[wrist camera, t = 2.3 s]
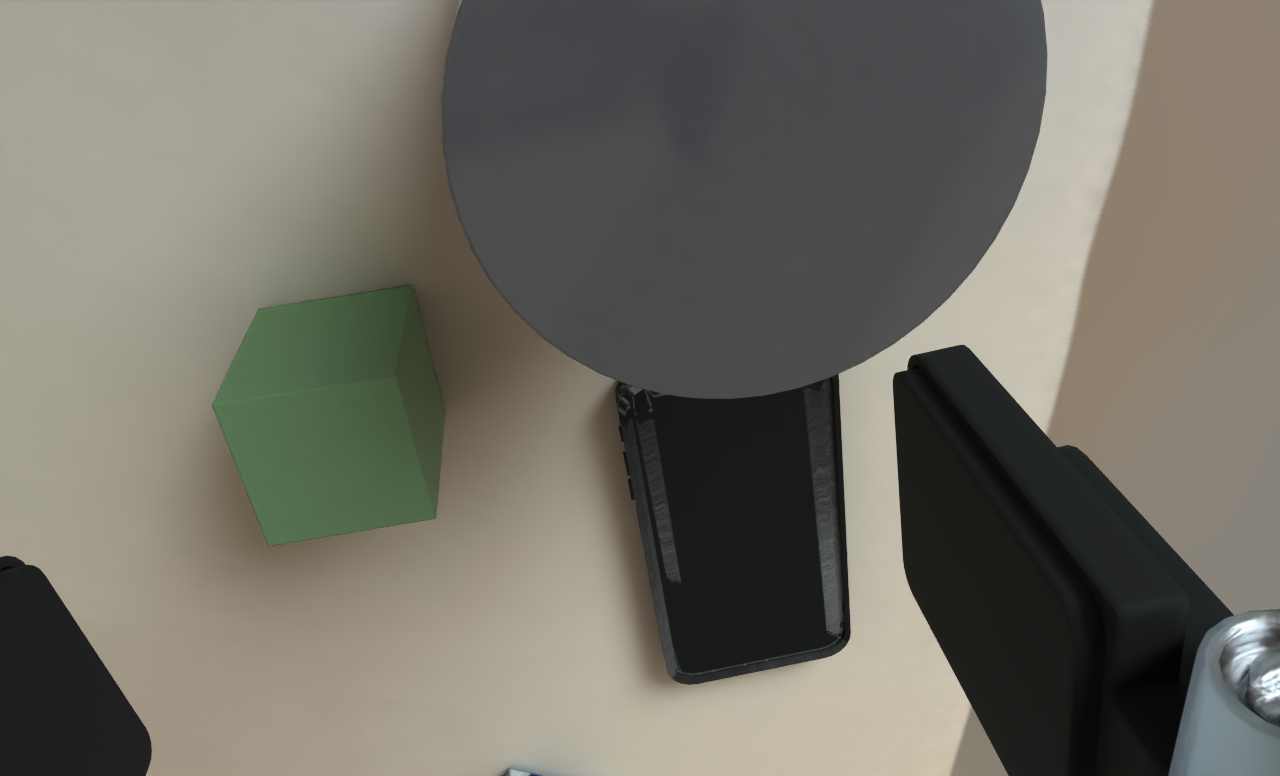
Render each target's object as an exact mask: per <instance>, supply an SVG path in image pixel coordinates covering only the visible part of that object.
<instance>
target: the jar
mask: <svg viewBox="0 0 1280 776" xmlns="http://www.w3.org/2000/svg"><path fill="white" fill-rule="evenodd" d="M1046 75H1047V44H1046V33H1045V21H1044V12H1043V8H1042V3H1041V0H459V4H458V8H457V11H456V15H455V19H454V23H453V27H452V31H451V35H450V39H449V44H448V48H447V53H446V59H445V67H444V76H443V85H442V93H441V142H442V149H443V155H444V162H445V169H446V175H447V182H448V185H449V189H450V192H451V196H452V199H453V202H454V206H455V209H456V213H457V216H458V219H459V222H460V224H461V226H462V228H463V231H464V233H465V235H466V237H467V240H468V242H469V244H470V246H471V249H472V251H473V253H474V255H475V257H476V258H477V260H478V262H479V263H480V265H481V266H482V268H483V270H484V271H485V273H486V275H487V276H488V278H489V279H490V281H491V283H492V284H493V286H494V287H495V288H496V289H497V291H498V292H499V293H500V294H501V296H502V297H503V298H504V299H505V300H506V302H507V303H508V304H509V305H510V307H511V308H512V309H513V310H514V311H515V313H516V314H517V315H518V316H519V317H521V318H522V319H523V320H524V321H525V322H526V323H527V324H528V325H529V326H530V327H531V328H532V329H533V330H534V331H535V332H537V333H538V334H539V335H540V336H541V337H542V338H543V339H545V340H546V341H548V342H549V343H550V344H552V345H553V346H555V347H556V348H557V349H559V350H560V351H562V352H563V353H564V354H566V355H567V356H568V357H570V358H572V359H574V360H576V361H577V362H579V363H581V364H583V365H585V366H587V367H588V368H590V369H592V370H594V371H596V372H598V373H600V374H602V375H604V376H607V377H610V378H612V379H615V380H617V381H620V382H623V383H625V384H628V385H630V386H634V387H638V388H642V389H646V390H650V391H654V392H657V393H661V394H666V395H674V396H682V397H690V398H701V399H734V398H744V397H753V396H763V395H769V394H773V393H778V392H782V391H787V390H791V389H796V388H800V387H803V386H806V385H809V384H812V383H815V382H818V381H821V380H824V379H827V378H830V377H832V376H834V375H837V374H839V373H841V372H843V371H845V370H847V369H850V368H852V367H854V366H856V365H858V364H860V363H863V362H864V361H866V360H868V359H869V358H871V357H873V356H874V355H876V354H878V353H880V352H881V351H883V350H885V349H886V348H888V347H890V346H891V345H893V344H894V343H896V342H897V341H898V340H900V339H901V338H902V337H904V336H905V335H906V334H908V333H909V332H910V331H912V330H913V329H914V328H916V327H917V326H918V325H920V324H921V323H922V322H924V321H925V320H926V319H927V318H928V317H929V316H930V315H931V314H932V313H933V312H934V311H935V310H937V309H938V308H939V307H940V306H941V305H942V304H943V303H944V302H945V301H946V300H947V299H948V298H949V297H950V296H951V295H952V294H953V293H954V292H955V291H956V289H957V288H958V287H959V286H960V285H961V284H962V283H963V281H964V280H965V279H966V278H967V277H968V276H969V275H970V273H971V272H972V271H973V270H974V269H975V267H976V266H977V264H978V263H979V262H980V260H981V259H982V257H983V256H984V254H985V253H986V252H987V250H988V249H989V247H990V246H991V244H992V243H993V242H994V240H995V239H996V237H997V235H998V233H999V231H1000V230H1001V228H1002V226H1003V224H1004V222H1005V221H1006V219H1007V217H1008V215H1009V213H1010V212H1011V210H1012V208H1013V206H1014V204H1015V201H1016V199H1017V197H1018V194H1019V192H1020V189H1021V187H1022V185H1023V182H1024V180H1025V177H1026V175H1027V173H1028V170H1029V167H1030V163H1031V160H1032V156H1033V153H1034V149H1035V146H1036V143H1037V139H1038V136H1039V132H1040V126H1041V120H1042V113H1043V107H1044V101H1045V95H1046Z"/></svg>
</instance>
